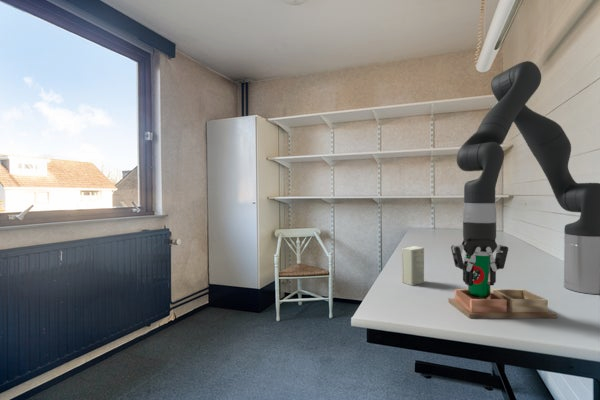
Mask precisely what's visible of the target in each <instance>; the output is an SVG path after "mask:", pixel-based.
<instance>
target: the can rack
mask: <svg viewBox="0 0 600 400" xmlns="http://www.w3.org/2000/svg"><path fill="white" fill-rule="evenodd" d="M447 303H449V304H450V305H452V306H453V307H454V308H455V309H456V310H458V311H459V312H461V313H462V314H463V315H464V316H466V317H467V318H468V319H557V313H555V312H553V311H551V310H550V309H548V308H549V305H548V299H546V298H543V297H541V296H540V295H537V294H536V293H535V294H534V293H533V292H530V291H528V290H526V289H524V288H493V289H492V288H490V296H489V297H488V298H477V297H473V296H471V295H470V294H469V293H468V288H466V289H463V288H461V289H460V288H457V289H456V288H455V289H454V298H448V302H447Z"/></svg>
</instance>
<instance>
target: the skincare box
mask: <svg viewBox="0 0 600 400" xmlns="http://www.w3.org/2000/svg"><path fill="white" fill-rule="evenodd" d="M401 249H402V250H401V252H402V253H401V257H402V258H401V259H402V260H401V261H402V262H401V265H402V266H401V269H402V271H401V272H402V273H401V278H402V280H401V281H402V283H403V284H407V285H409V286H415V285H420V284H424V283H425V248H424V247H420V246H417V245H412V246H405V247H402V248H401Z"/></svg>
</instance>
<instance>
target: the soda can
mask: <svg viewBox="0 0 600 400" xmlns="http://www.w3.org/2000/svg"><path fill="white" fill-rule="evenodd" d="M475 256H476V262H475V264H473V266H472V269H471V272H472V285H471V286H468V285H467V289H468V293H469V294H470V295H471V296H473V297H477V298H488V297H489V296H490V291H491V285H490V279H491V263H490V255H489V254H487V252H486V251H480V253H479V254H477V255H475ZM470 258H471V257H470V256H468V259H470Z"/></svg>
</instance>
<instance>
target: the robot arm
mask: <svg viewBox="0 0 600 400" xmlns="http://www.w3.org/2000/svg"><path fill="white" fill-rule="evenodd" d="M541 81H542V73H541V69H540V68H539V67H538V65H537V63H534V62H533V61H529V60H527V61H526V60H525V61H522V62H519V63H517V64H515V65H513V66H511V67H510V68H507V69H506V70H504V71H502V72H500V73H498V74H496V75H495V76H494V77H493V78H492V79H491V82H490V89H491V92H492V93H493V95H494V97H495V99H496V100H497V103H496V104H495V105H494V106H492V108H491V109H489V111H488V112H487V113H486V114H485V116H484V117H483V119H482V120H481V123H480V124H479V126H478V128H477V130H476V132H475V133H473V134H472V135H471V136H470V137H469V138H468V139H467V140H466V141H465V142H464V143H463V144H462V145H461V147H459V150H458V152H457V154H456V164H457V165H456V166H458V169H460V170H461V171H464V172H481V174H480V175H479V177H477V178H476V179H473V180H469V181H467V182H465V184H464V187H463V188H464V190H463V195H464V196H463V202H464V203H463V208H462V209H463V211H462V237H463V240H462V243H461V244H458V245H455V244H452V245H451V246H450V248H451V249H450V250H451V253H452V258H453V261H454V266H455V267H456V268H458V269H460V270H462V281H463V283H464V284H465V285H467V287H468V286H471V285H472V272H471V269H472V266H473V264H475V262H476V256H475V255H477V254H479V253H480V251H486V252H487V254H489V255H490V263H491V279H490V286H494V285H495V284H496V282H497V271H498V270H504V268H505V264H506V261H507V256H508V251H509V247H508V246H506V245H502V244H497V242H496V239H497V207H496V187H497V183H498V179H499V175H500V172H501V169H502V168H503V167H502V166H503V163H504V160H505V159H504V157H505V152H504V149H503V147H502V146H501V145H502V144H503V143H504V141H505V140H506V137H507V135H508V133H509V132H510V129H511V128H512V125H513V123H514V125H515V127H517V129H518V131H519V132H520V134H521V136H522V138H523V140H524V142H525V143H526V146H527V147H528V149H529V150H530V152H531V154H532V155H533V156H534V158H535V159H536V161H537V163H538V164H539V166H540V168H541V170H542V171H543V173H544V176H546V179H547V181H548V184H549V185H550V187H551V190H552V192H553V194H554V198H555V200H556V201H557V203H558V205H559V206H560V207H561V209H563V210H564V211H567V212H571V213H580V215H579V218H578V220H576V221H574V222H570V223H567V224H565V226H564V231H563V232H564V237H563V240H564V245H563V247H564V248H563V249H564V250H563V251H564V252H563V253H564V254H563V258H564V259H563V261H564V262H563V266H564V267H563V287H564V288H565V289H567V290H570V291H574V292H578V293H581V294H582V293H584V294H592V295H600V183H599V182H576V180H575V179H574V178H573V176H572V174H571V173H570V170H569V162H570V157H571V152H572V144H571V142H570V140H569V137H568V136H567V134H566V132H565V131H564V129H563V127H562V125H560V124H559V123H558V122H556V121H555V120H553V119H551V118H549V117H547V116H545V115H543V114H540V113H538V112H537V111H534V110H532V109H531V108H529V107H528V106H527V105H526V104H527V103H528V101H529V100H530V99H531V97H532V96H533V95H534V94H535V92H536V91H538V88H539V87H540V85H541ZM463 251H464V252H465V254H464V256H462V254H463ZM494 252H496V253H495V257H494V254H493V253H494ZM468 256H470V257H471V258H470V259H468Z"/></svg>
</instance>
